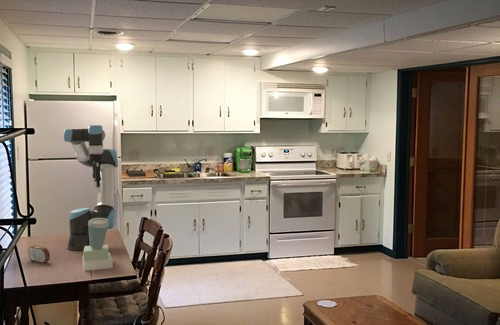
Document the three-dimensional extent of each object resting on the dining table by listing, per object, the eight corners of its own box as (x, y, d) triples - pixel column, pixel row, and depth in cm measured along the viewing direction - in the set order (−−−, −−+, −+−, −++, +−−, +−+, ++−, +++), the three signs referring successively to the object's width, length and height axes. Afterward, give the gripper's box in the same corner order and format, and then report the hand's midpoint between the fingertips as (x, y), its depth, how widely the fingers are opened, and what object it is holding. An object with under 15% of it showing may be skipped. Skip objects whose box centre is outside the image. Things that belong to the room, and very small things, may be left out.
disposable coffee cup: (82, 248, 264) (84, 222, 260) (90, 240, 275) (92, 214, 271) (102, 252, 264) (104, 225, 260) (110, 244, 274) (112, 218, 270)
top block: (85, 255, 274) (84, 246, 274) (108, 253, 277) (108, 244, 277) (83, 261, 262) (83, 251, 262) (108, 259, 265) (107, 250, 265)
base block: (82, 264, 274) (82, 255, 274) (109, 261, 279) (109, 252, 279) (84, 271, 261) (83, 262, 261) (112, 268, 266) (112, 259, 266)
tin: (50, 263, 276) (50, 247, 275) (45, 264, 273) (45, 248, 272) (32, 259, 283) (31, 244, 283) (27, 260, 281) (26, 245, 280)
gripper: (87, 152, 294) (88, 189, 296) (90, 154, 271) (91, 194, 273) (100, 151, 297) (101, 188, 299) (105, 154, 274) (106, 194, 276)
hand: (96, 191), depth 286 cm, fingers open, 13 cm apart
